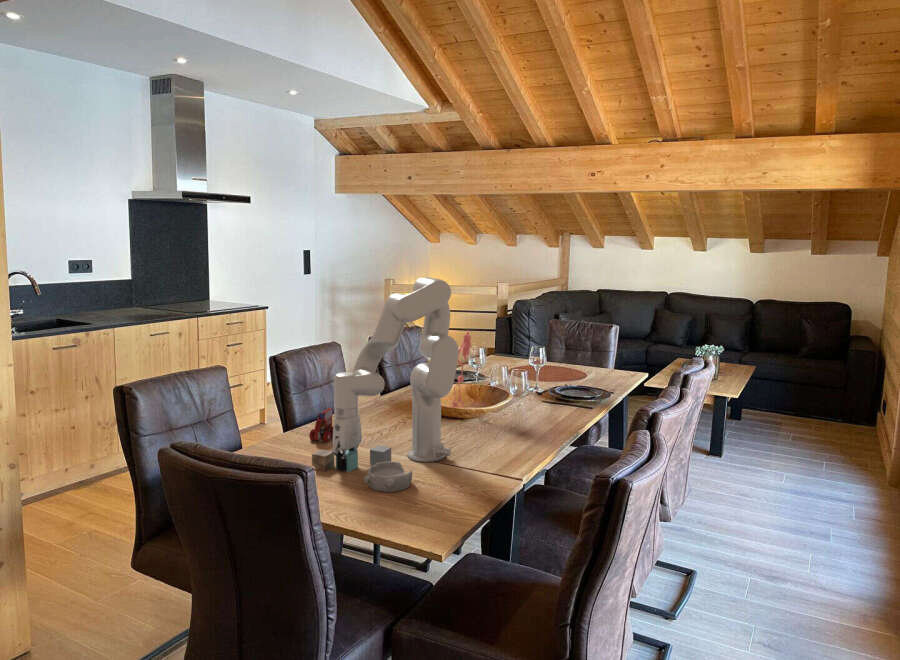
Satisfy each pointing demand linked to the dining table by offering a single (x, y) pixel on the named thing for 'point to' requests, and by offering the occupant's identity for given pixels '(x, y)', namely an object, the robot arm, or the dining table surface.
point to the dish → (388, 477)
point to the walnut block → (323, 460)
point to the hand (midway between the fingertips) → (346, 466)
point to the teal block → (350, 460)
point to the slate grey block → (380, 454)
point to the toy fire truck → (323, 426)
